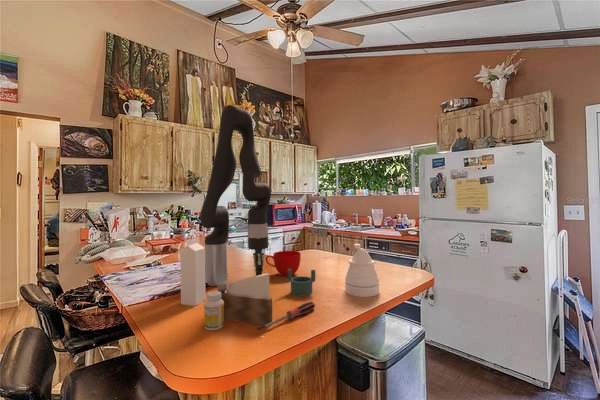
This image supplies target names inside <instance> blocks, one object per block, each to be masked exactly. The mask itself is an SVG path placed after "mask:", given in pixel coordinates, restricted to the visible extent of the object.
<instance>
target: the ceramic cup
mask: <svg viewBox="0 0 600 400" xmlns="http://www.w3.org/2000/svg"><path fill="white" fill-rule="evenodd" d="M301 255H302V253H301V252H300V251H297V250H296V251H294V250H281V251H280V250H279V251H276V252H274V253H273V254H272V255H269V254H268V255H266V257H265V262H266V264H268V266H271V267H273V268H275V269H276V271H277V273H279V274H280V276H283V277H288V269H292V276H294V275H295V273H296V272H297V271H298V270H299V267H300V263H301V257H302V256H301ZM268 258H272V260H273V262H274V264H272V263H270V262H269V260H268Z"/></svg>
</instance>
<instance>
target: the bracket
mask: <svg viewBox="0 0 600 400" xmlns="http://www.w3.org/2000/svg"><path fill="white" fill-rule="evenodd" d="M287 281H288V282H290V294H291V295H293V296H297V297H307V296H310V295H312V294H313V283H314V282H316V269H311V271H310V276H305V275H304V276H302V275H301V276H294V277H293V275H292V269H288V276H287ZM306 295H307V296H306Z"/></svg>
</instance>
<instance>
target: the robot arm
mask: <svg viewBox="0 0 600 400" xmlns="http://www.w3.org/2000/svg"><path fill="white" fill-rule="evenodd" d="M234 131H235V132H238V133H239V134H240V136H241V139H242V145H241V148H240V150H239V156H238V159H239V165H240V169H241V172H242V196H243V198H244V199H245V200H247V201H248V202H256V205H255V206H254V207H252V208H249V209H248V212H247V220H248V222H247V225H248V226H247V247H248V249H249V250H253V251H254V252H253V253H252V257H253V267H254V268H255V269H254V271H255V276H257V275H262V274H263V272H264V269H263V268H264V262H265V261H264V259H265V253H264V252H262V251H263V250H266V249H268V248H269V227H268V209H269V206H270V202H271V196H272V191H271V188H270V186H269V184H268V183H266V182H257V181H256V182H255V179H258V178H259V177H260V176H261V175H262V170H261V167H260V165H261V164H260V163H259V162H260V161H259V159H258V154H257V149H256V144H255V143H256V140H255V132H254V122H253V116H252V115H251V112H250V111H249V110H247V109H246V108H242V107H240V106H239V107H238V106H235V105H232V104H227V105H226V106H224V108H223V110H222V112H221V116H220V123H219V131H218V139H217V143H216V144H217V146H216V150H215V151H216V152H215V155H214V160H213V163H212V164H213V165H212V169H211V172H210V179H209V183H208V186H207V191H206V193H205V197H204V201H203V204H202V207H201V210H200V215H199V222H200V224H201V226H202V227H203V228H204V229H213V231H212V232H210V234H208V235H207V236H205V237H204V248H205V281H206V282H207V283H208V285H209V286H211V287H213V286H214V287H215V286H217V284H219V283H227V282H228V237H229V233H230V232H229V231H230V230H229V229H230V225H229V224H230V215H229V210H228V208H227V207H226V206H224V205H219V201H220V200H221V197H222V195H223V194H224V193H225V192H226V190H228V188H229V187H230V185H231V184H232V182H233V181H234V178H235V174H236V169H237V159H236V156H235V152H234V149H233V143H232V141H233V133H234ZM208 285H207V286H208ZM209 286H208V287H209Z"/></svg>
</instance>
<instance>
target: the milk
mask: <svg viewBox="0 0 600 400" xmlns="http://www.w3.org/2000/svg"><path fill="white" fill-rule="evenodd" d="M179 254H180V255H179V256H180V257H179V260H180V261H179V263H180V264H179V267H180V305H183V306H193V307H196V306H198V305H200V304H202V303H203V302H206V301H207V300H206V299H207V293H206V284H205V246H203V245H201V244H200V243H199V242H198V238H195V239H192V240H188V241H187V245H186V246H185V247H183V248H181V249H180V251H179Z"/></svg>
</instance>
